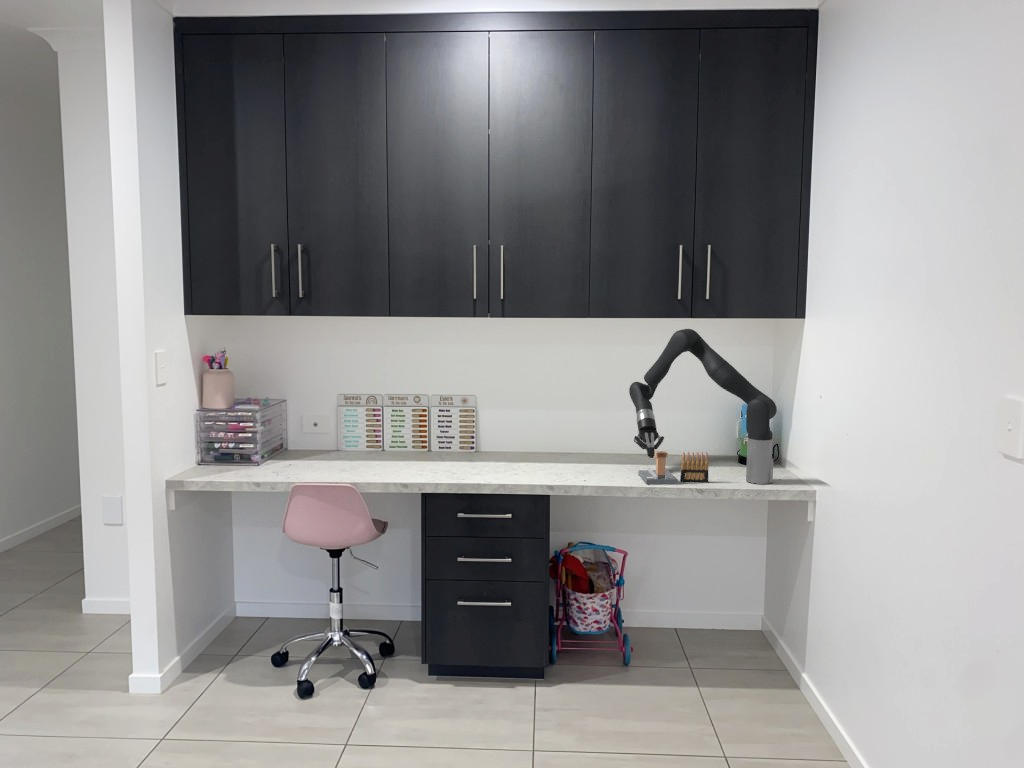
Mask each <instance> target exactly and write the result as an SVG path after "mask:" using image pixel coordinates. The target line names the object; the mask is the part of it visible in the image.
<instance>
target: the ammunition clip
mask: <svg viewBox="0 0 1024 768" xmlns="http://www.w3.org/2000/svg"><path fill="white" fill-rule="evenodd" d="M699 454H700V456H699ZM679 482H680V483H686V482H694V484H695V483H696V484H709V455H708V452H705V456H704V453H703V451H701V453H699V452H698V451H697V452H696V455H695V453H694V451H692V452H691V455H690V452H689V451H687V453H686V454H685V451H683V452H682V454H681V461H680V479H679Z"/></svg>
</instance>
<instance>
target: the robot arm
mask: <svg viewBox="0 0 1024 768" xmlns="http://www.w3.org/2000/svg"><path fill="white" fill-rule="evenodd" d="M687 352H689V353H690V354H692V355H693V356H694V357H696V358H697V359H698V360H699V361H700V363H701V364H702V366H703V368H704V370H705V372H706V373H707V376H709V378H710V379H711V380H712V381H713V382H714V383H716V384H717V386H719V387H720V388H722V389H723V390H725V391H726V392H728V393H730V394H732V395H733V396H735V397H737V398H739V399H740V400H741V401H743V402H744V403H745V404H746V405H747V407H746V414H745V424H746V425H745V428H746V433H747V442H746V443H747V446H746V447H747V449H746V468H745V469H746V470H745V471H746V472H745V481H746V482H747V481H748V482H747V483H749V482H751V483H750V484H754V483H756V484H755V485H767V484H773V477H774V475H773V474H774V458H772V457H773V455H772V454H773V435H774V434H773V431H772V430H771V428H770V421H771V419H773V418H774V417H775V416H776V414H777V413H778V410H777V409H778V408H777V404H776V402H774V400H773V399H772V398H770V396H768V395H767V394H765V393H764V392H762V391H761V390H759V389H758V388H757V387H756V386H754V385H753V384H752V383H751V382H750V381H749V380H748V379H747V378H746V377H745V376H743V375H742V374H741V373H740V372H739V371H738V370H737V369H736V368H735V367H734V366H733V365H732V364H731V363H730V362H729V361H727V360H726V359H724V358H723V357H722V356H721V355H720V353H718V352H716V351H715V350H714V349H713V348H712V347H711V346H710V345H709V344H708V343H707V342H706V341H705V339H703V337H702V336H701V335H700V334H699V333H698V332H697V331H695V330H694V329H691V328H683V329H679V330H677V331H675V332H673V334H672V335H671V337H670V339H669V341H668V342H667V344H666V346H665V347H664V349H663V351H662V352H661V354H660V355H659V357H658V358H657V360H656V361H655V362H654V363H653V364H652V366H650V368H649V369H648V370H647V371H646V373H645V374H644V376H643V380H644V382H645V383H646V384H645V383H643V382H639V381H633V382H632V383H631V384H630V385H629V389H628V393H629V397H630V399H631V402H632V404H633V405H634V407H635V415H636V425H637V432H638V433H637V436H636V435H635V436H634V438H633V442H634V443H635V444H636V445H637V446H638V447H640V448H641V449H642V450H645V451H646V454H647V457H649V459H650V458H651V459H652V458H654V457H655V451H656V450H658V449H659V448H660V446H661V444H662V443H664V439H665V436H662V435H659V432H658V431H657V424H656V418H655V417H656V416H655V414H654V409H653V404H652V402H651V400H652V398H653V397H654V394H655V392H656V390H657V388H658V386H659V385H660V383H661V382H662V381H663V379H664V378H665V377H666V376H667V375H668V373H669V371H670V369H671V366H672V364H673V363H674V361H676V359H677V358H678V357H679V356H680V355H682V354H683V353H687ZM655 442H656V443H655Z"/></svg>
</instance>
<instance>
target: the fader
mask: <svg viewBox="0 0 1024 768" xmlns="http://www.w3.org/2000/svg"><path fill="white" fill-rule="evenodd" d="M654 451H655V455H654V457H655V459H656V460H655V470H656V474H657V476H658V478H664V475H665V470H666V464H667V463H666V460H667V459H666V458H668V455H669V453H668V452H667V451H665V450H663V451H662V450H661V451H656V450H654Z"/></svg>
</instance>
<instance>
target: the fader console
mask: <svg viewBox="0 0 1024 768" xmlns="http://www.w3.org/2000/svg"><path fill="white" fill-rule="evenodd" d="M639 476H640V477H641V478H642V479H641V478H640V477H639ZM638 477H639V478H640V479H641V480H642V481H643V482H644V483H645V485H678V480H679V479H678V478H677V477H675V475H674V474H672V472H670V471H669V470H668V469H667V470H666V469H665V475H664V478H658V476H657V474H656V469H651V467H648V468H647V470H645V469H643V470H642V469H639V470H638Z"/></svg>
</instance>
